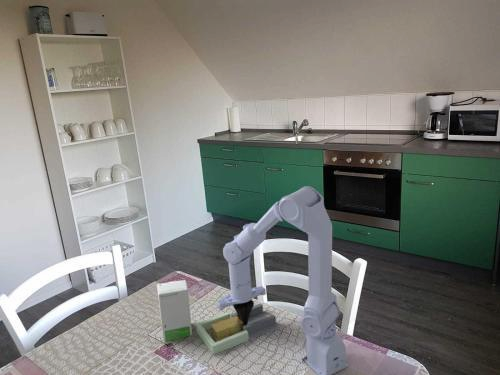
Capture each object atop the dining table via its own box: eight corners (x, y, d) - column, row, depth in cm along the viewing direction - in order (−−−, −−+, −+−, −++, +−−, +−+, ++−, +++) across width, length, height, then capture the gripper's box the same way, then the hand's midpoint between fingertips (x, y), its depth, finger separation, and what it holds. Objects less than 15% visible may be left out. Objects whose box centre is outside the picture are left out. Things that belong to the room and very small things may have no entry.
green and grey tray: (279, 331, 113) (279, 319, 112) (213, 358, 104) (212, 346, 103) (258, 311, 123) (257, 300, 122) (196, 334, 114) (195, 323, 113)
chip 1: (230, 336, 110) (229, 327, 109) (217, 341, 108) (216, 332, 108) (224, 329, 114) (223, 320, 113) (211, 334, 112) (210, 324, 111)
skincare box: (163, 345, 110) (156, 295, 106) (162, 331, 116) (155, 283, 112) (194, 338, 112) (188, 289, 108) (191, 325, 119) (185, 278, 114)
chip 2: (244, 331, 112) (243, 322, 111) (231, 337, 110) (230, 327, 109) (237, 324, 115) (236, 315, 114) (225, 329, 113) (223, 320, 113)
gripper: (255, 268, 117) (258, 309, 121) (210, 282, 110) (214, 325, 114) (268, 277, 111) (271, 320, 115) (221, 293, 104) (225, 338, 108)
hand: (243, 323), depth 114 cm, fingers closed
